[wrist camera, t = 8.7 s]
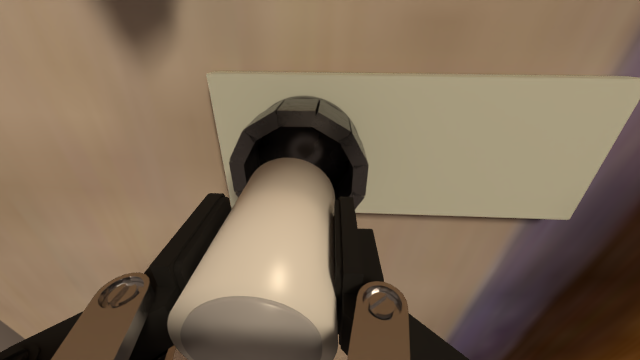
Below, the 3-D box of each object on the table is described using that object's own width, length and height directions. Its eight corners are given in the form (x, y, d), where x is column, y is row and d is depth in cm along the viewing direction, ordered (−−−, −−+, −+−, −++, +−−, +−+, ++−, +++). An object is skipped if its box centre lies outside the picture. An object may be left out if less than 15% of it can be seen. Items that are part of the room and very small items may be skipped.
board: (625, 75, 16) (651, 79, 15) (554, 208, 21) (569, 219, 19) (215, 71, 17) (206, 73, 16) (237, 198, 22) (231, 208, 20)
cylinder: (336, 158, 12) (342, 293, 5) (333, 233, 14) (335, 394, 8) (241, 156, 12) (139, 285, 6) (252, 231, 14) (187, 386, 8)
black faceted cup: (365, 96, 16) (374, 112, 12) (356, 199, 20) (361, 234, 16) (244, 94, 16) (219, 109, 13) (257, 196, 20) (241, 230, 16)
